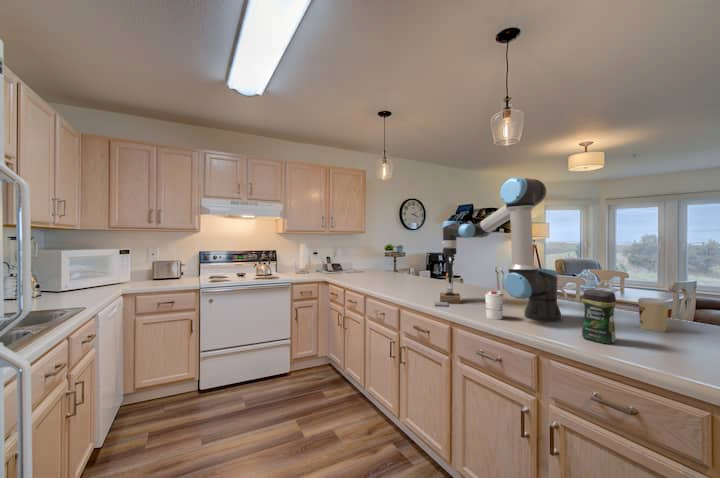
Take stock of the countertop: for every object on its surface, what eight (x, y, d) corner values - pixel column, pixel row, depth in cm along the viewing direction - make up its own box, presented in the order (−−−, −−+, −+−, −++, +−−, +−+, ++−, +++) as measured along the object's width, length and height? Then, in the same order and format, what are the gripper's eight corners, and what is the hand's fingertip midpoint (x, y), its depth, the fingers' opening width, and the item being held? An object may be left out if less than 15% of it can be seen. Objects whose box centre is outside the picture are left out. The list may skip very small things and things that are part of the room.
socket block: (460, 304, 177) (460, 297, 177) (440, 303, 180) (440, 296, 180) (459, 300, 188) (459, 293, 188) (440, 299, 191) (440, 292, 191)
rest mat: (447, 306, 171) (447, 304, 171) (434, 306, 173) (434, 304, 173) (447, 303, 178) (447, 302, 178) (434, 303, 180) (434, 301, 180)
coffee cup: (638, 324, 136) (638, 296, 136) (669, 328, 130) (669, 299, 129) (636, 329, 130) (636, 299, 130) (668, 334, 123) (668, 303, 123)
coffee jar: (578, 338, 119) (578, 289, 119) (589, 334, 123) (589, 287, 123) (609, 346, 111) (609, 293, 110) (619, 342, 115) (619, 291, 114)
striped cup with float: (508, 320, 144) (508, 294, 144) (489, 320, 144) (489, 294, 144) (498, 314, 154) (498, 290, 154) (481, 314, 154) (481, 290, 154)
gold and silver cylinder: (453, 298, 182) (453, 273, 181) (446, 297, 183) (446, 273, 182) (453, 296, 186) (453, 273, 185) (446, 296, 186) (446, 272, 186)
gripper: (442, 246, 193) (442, 285, 193) (443, 248, 176) (443, 290, 177) (455, 247, 191) (455, 285, 191) (457, 248, 174) (457, 290, 175)
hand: (449, 287), depth 184 cm, fingers closed on gold and silver cylinder, 4 cm apart
